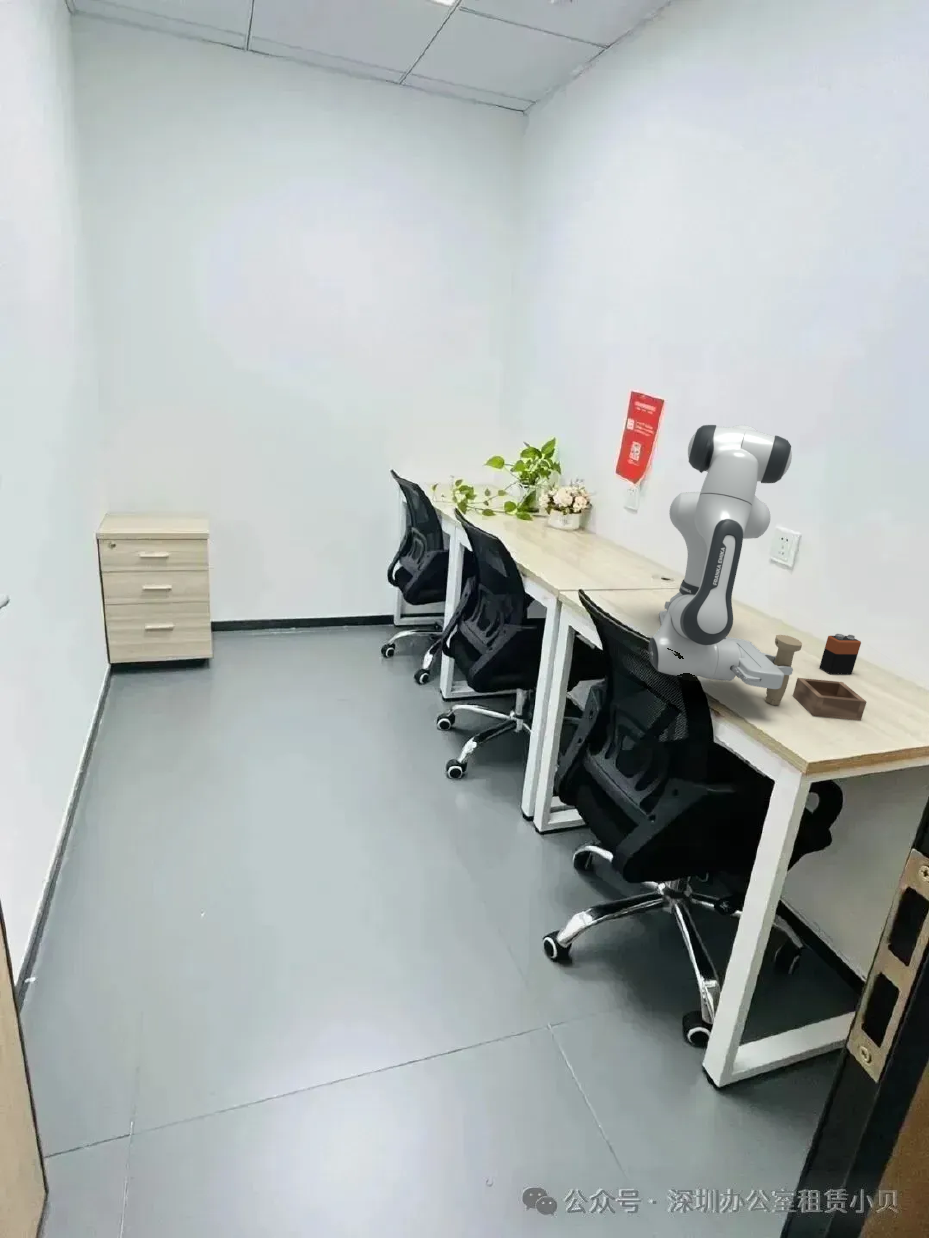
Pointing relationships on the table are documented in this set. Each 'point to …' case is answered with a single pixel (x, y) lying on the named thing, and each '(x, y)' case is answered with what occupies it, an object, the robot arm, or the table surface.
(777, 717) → the table surface
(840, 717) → the brown square open box
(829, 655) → the battery
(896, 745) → the table surface
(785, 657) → the handle
